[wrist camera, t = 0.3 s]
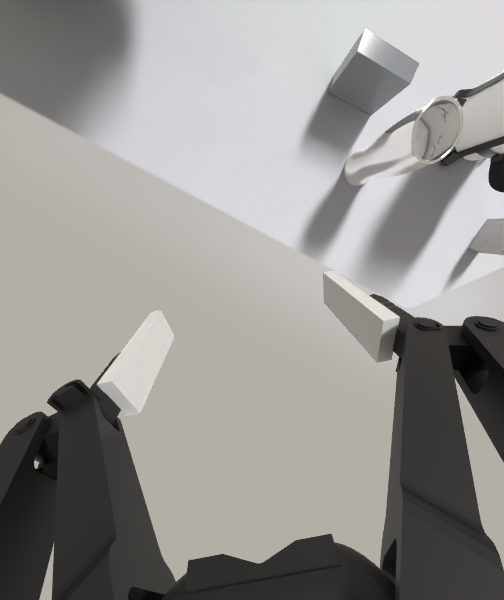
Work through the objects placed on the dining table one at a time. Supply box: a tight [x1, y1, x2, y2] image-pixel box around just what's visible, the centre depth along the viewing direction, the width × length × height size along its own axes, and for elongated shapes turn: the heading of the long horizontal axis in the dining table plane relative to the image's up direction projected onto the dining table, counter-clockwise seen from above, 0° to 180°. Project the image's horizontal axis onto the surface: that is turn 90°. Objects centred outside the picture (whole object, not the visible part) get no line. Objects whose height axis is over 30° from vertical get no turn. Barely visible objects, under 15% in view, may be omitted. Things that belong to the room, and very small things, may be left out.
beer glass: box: [344, 96, 463, 186], centre depth 30 cm, size 7×7×15 cm
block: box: [328, 28, 419, 115], centre depth 29 cm, size 2×9×8 cm, turn 73°
